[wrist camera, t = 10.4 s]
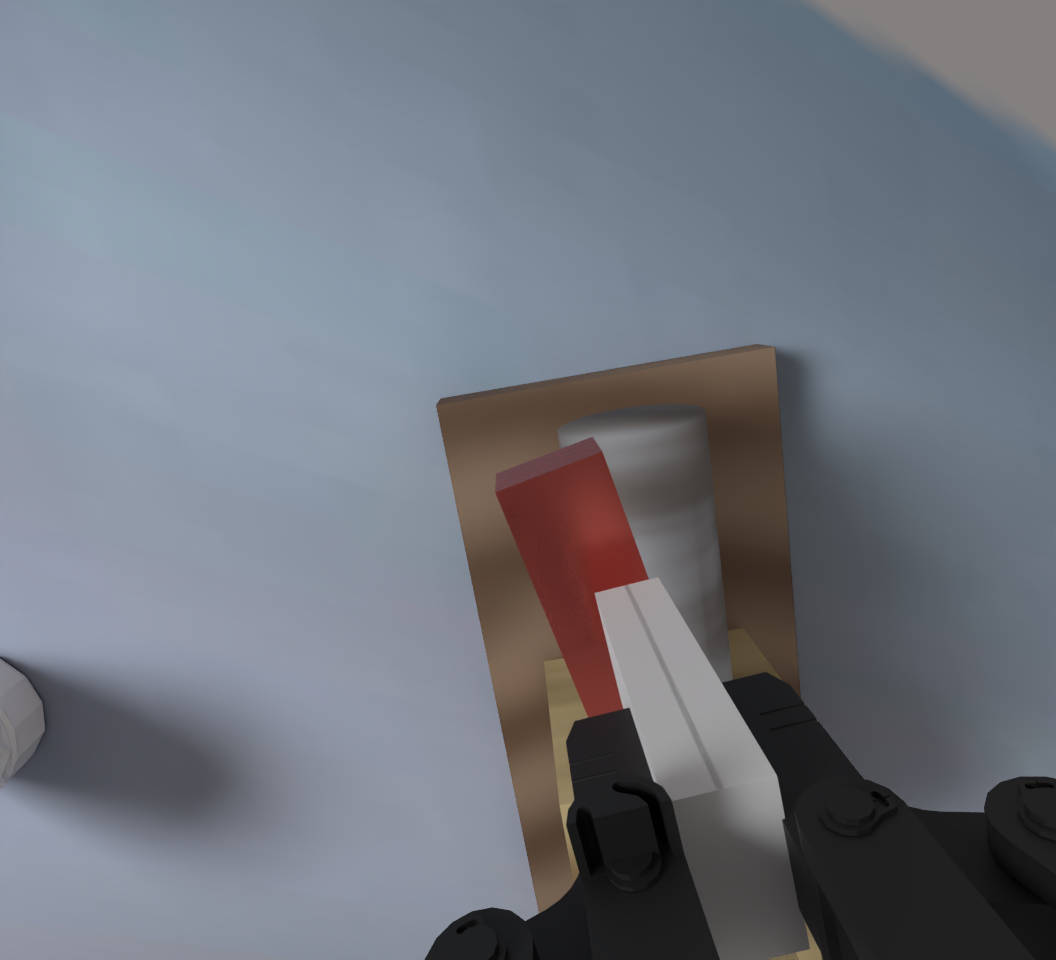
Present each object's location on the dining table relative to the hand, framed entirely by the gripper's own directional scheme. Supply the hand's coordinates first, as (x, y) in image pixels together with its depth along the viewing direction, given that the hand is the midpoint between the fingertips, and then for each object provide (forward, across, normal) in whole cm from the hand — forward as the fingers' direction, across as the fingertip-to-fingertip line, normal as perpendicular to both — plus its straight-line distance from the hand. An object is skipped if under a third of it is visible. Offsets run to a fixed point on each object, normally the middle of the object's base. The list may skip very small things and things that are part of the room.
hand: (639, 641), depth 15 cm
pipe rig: (+17, -1, +12) cm, 20 cm away
